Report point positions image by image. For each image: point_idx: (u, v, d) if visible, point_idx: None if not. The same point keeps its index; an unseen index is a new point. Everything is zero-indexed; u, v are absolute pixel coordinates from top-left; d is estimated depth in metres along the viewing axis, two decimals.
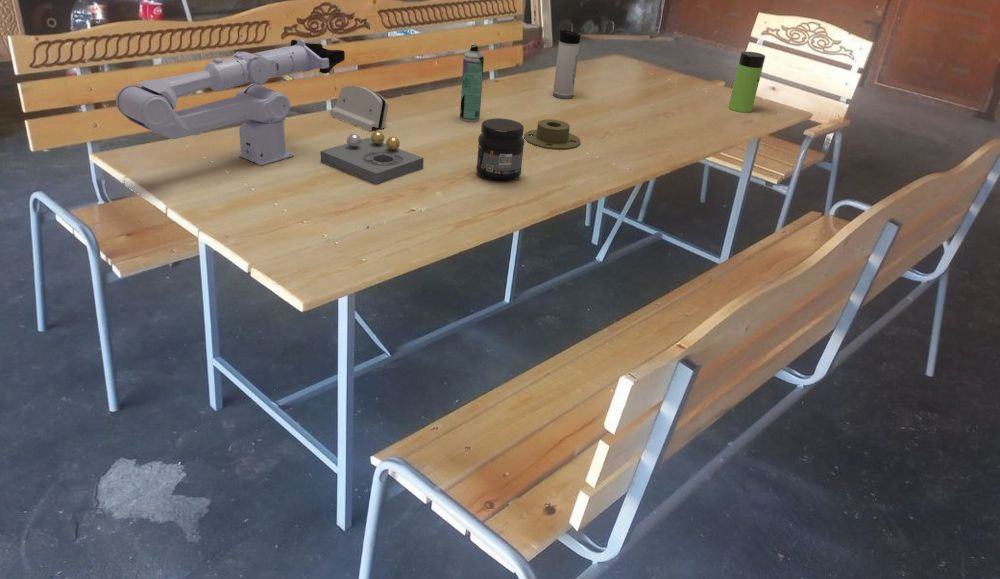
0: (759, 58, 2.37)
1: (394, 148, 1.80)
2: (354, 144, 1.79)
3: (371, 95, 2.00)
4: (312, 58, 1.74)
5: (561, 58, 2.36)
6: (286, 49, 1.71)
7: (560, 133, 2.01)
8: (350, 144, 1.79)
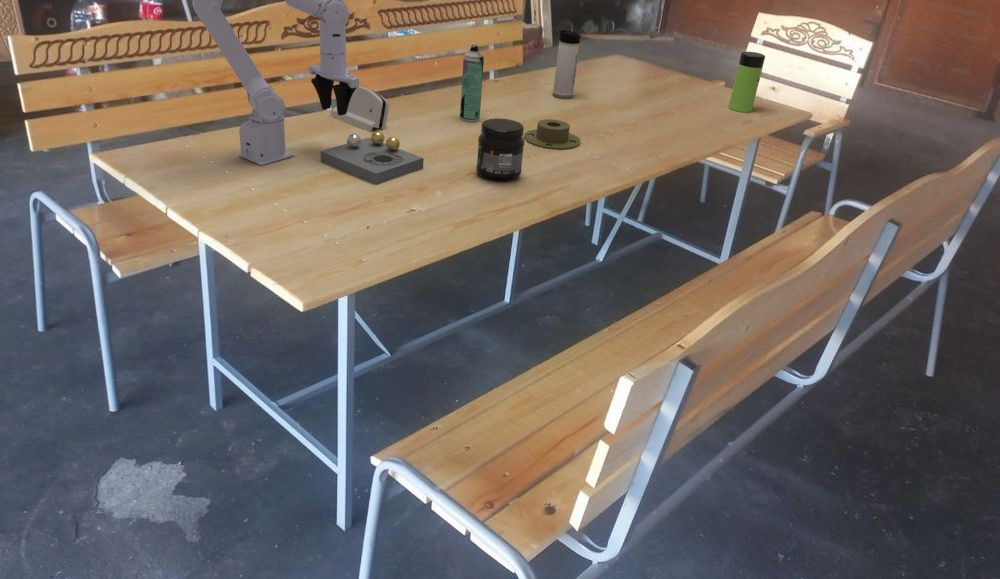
0: (759, 58, 2.37)
1: (394, 148, 1.80)
2: (354, 144, 1.79)
3: (371, 95, 2.00)
4: None
5: (561, 58, 2.36)
6: None
7: (560, 133, 2.01)
8: (350, 144, 1.79)
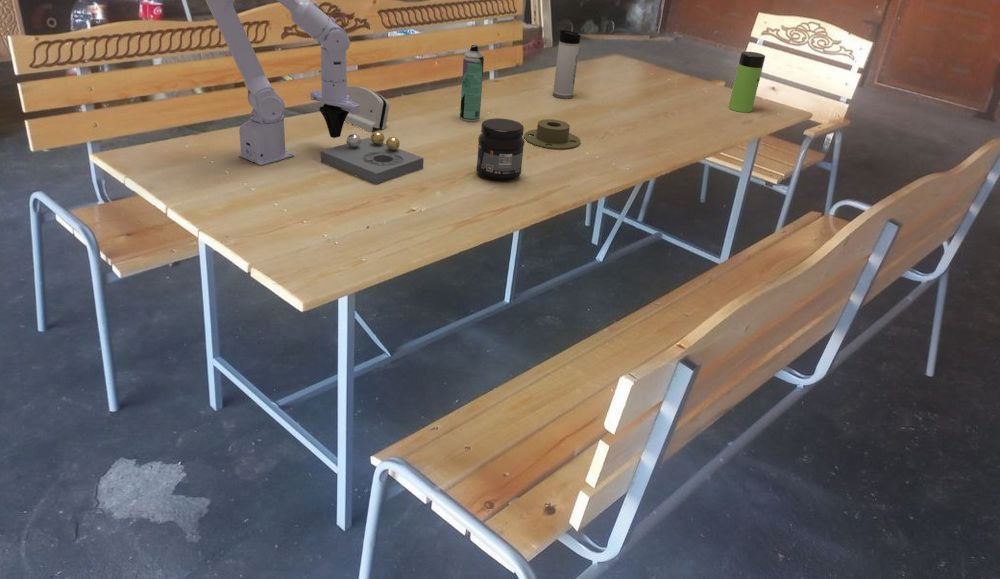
0: (759, 58, 2.37)
1: (394, 148, 1.80)
2: (354, 144, 1.79)
3: (372, 96, 2.00)
4: None
5: (561, 58, 2.36)
6: None
7: (560, 133, 2.01)
8: (350, 144, 1.79)
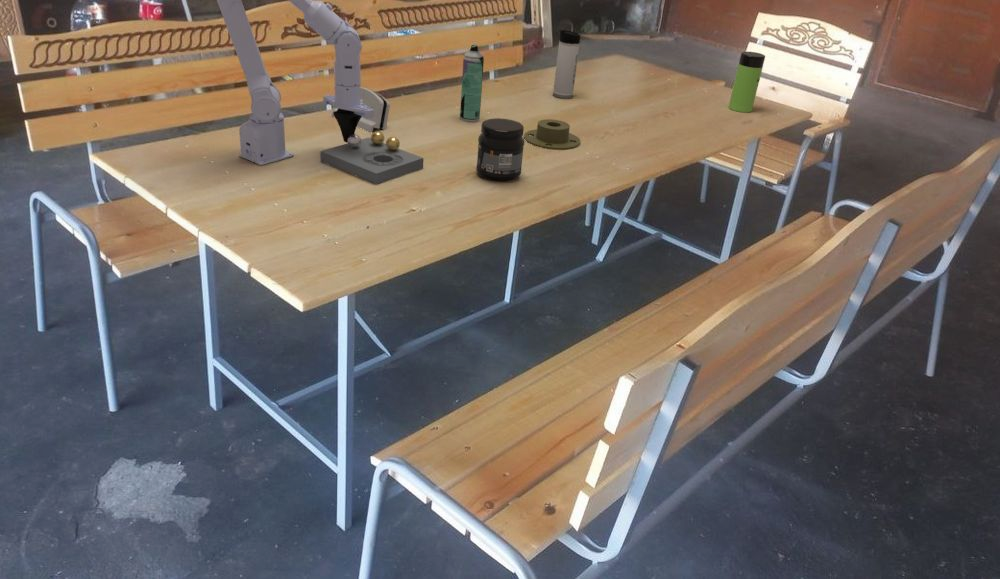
0: (759, 58, 2.37)
1: (394, 148, 1.80)
2: (354, 144, 1.79)
3: (372, 96, 1.99)
4: None
5: (561, 58, 2.36)
6: None
7: (560, 133, 2.01)
8: (350, 144, 1.79)
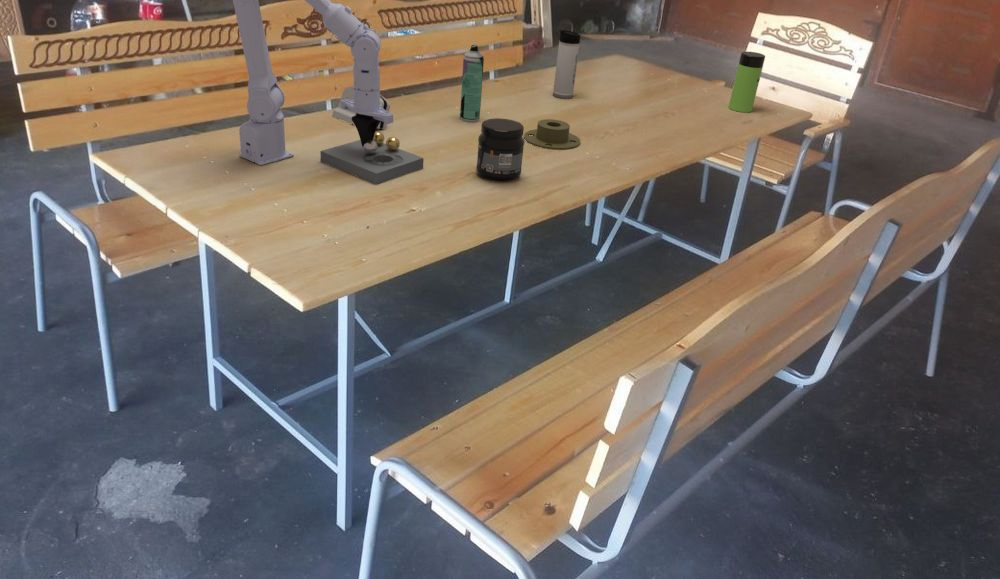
0: (759, 58, 2.37)
1: (394, 148, 1.80)
2: None
3: None
4: (379, 112, 1.73)
5: (561, 58, 2.36)
6: None
7: (560, 133, 2.01)
8: (365, 146, 1.76)
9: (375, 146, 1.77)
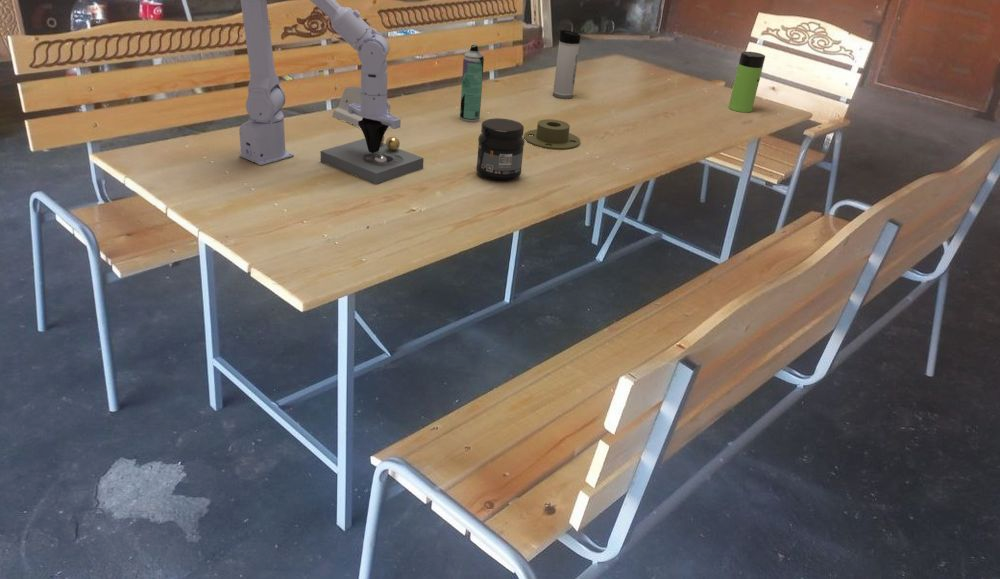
0: (759, 58, 2.37)
1: (394, 148, 1.80)
2: None
3: None
4: None
5: (561, 58, 2.36)
6: None
7: (560, 133, 2.01)
8: None
9: None
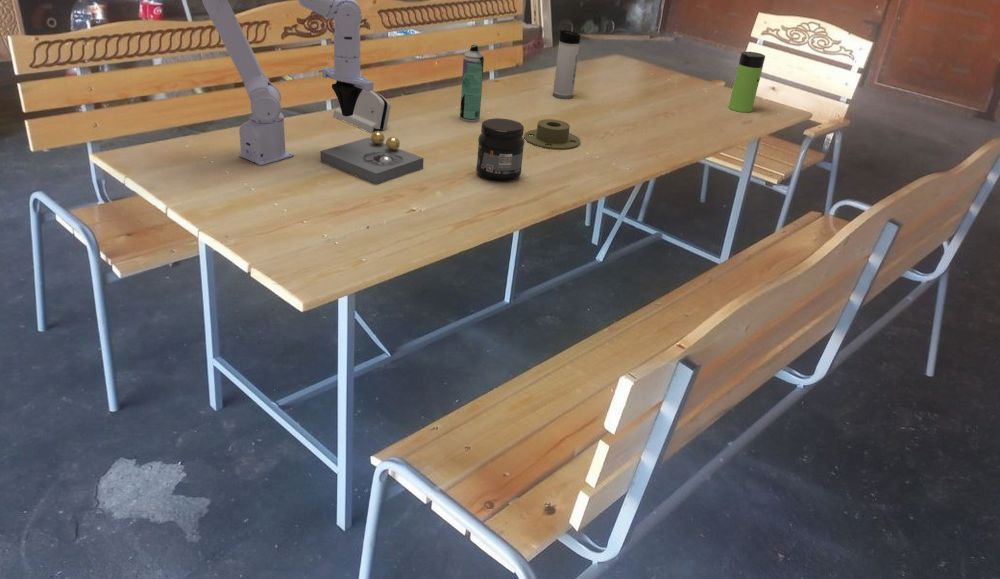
0: (759, 58, 2.37)
1: (394, 148, 1.80)
2: None
3: (373, 96, 1.99)
4: None
5: (561, 58, 2.36)
6: None
7: (560, 133, 2.01)
8: None
9: None
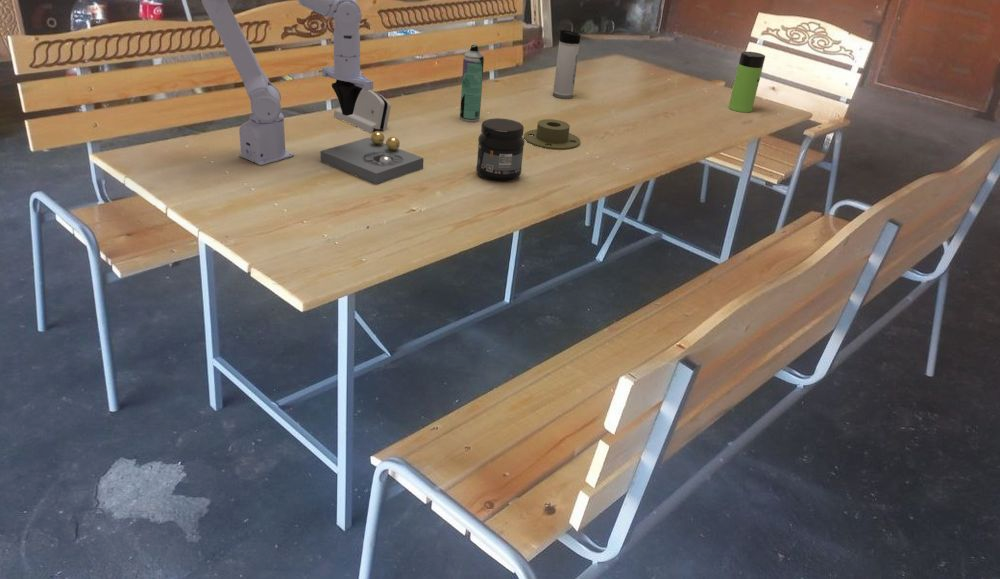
0: (759, 58, 2.37)
1: (394, 148, 1.80)
2: None
3: (373, 96, 1.99)
4: None
5: (561, 58, 2.36)
6: None
7: (560, 133, 2.01)
8: None
9: None
